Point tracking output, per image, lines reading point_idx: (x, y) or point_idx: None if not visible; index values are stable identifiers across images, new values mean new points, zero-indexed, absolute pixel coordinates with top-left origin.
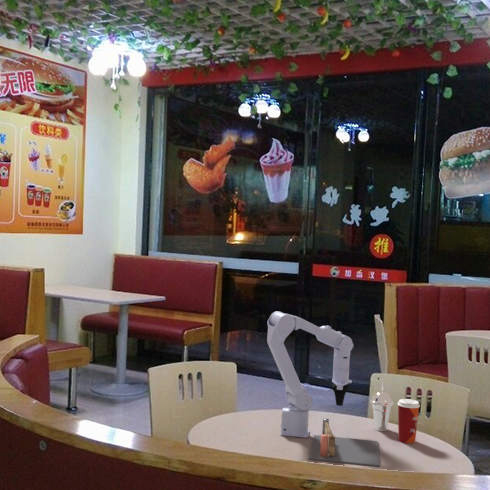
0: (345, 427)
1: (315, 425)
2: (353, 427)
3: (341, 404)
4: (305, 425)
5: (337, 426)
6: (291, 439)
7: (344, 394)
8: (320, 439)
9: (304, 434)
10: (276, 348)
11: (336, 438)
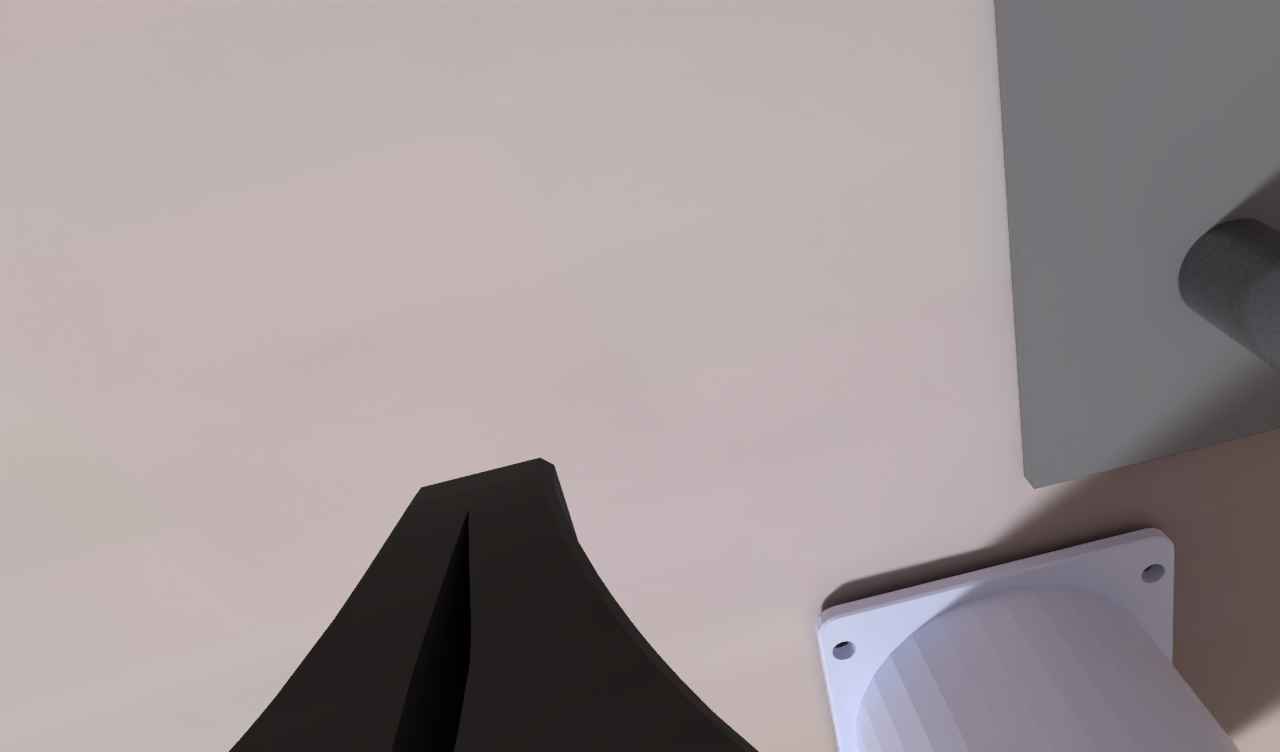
0: (168, 174)
1: None
2: (30, 12)
3: (563, 504)
4: (1175, 700)
5: (221, 331)
6: (1269, 662)
7: (712, 725)
8: None
9: (1108, 601)
10: None
11: (1106, 103)
